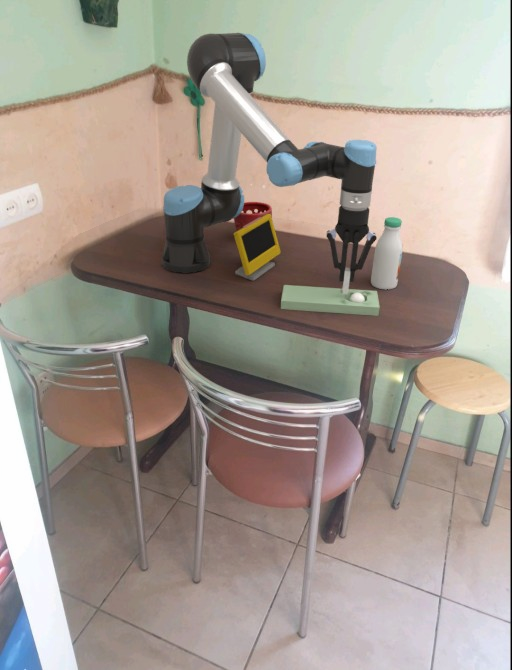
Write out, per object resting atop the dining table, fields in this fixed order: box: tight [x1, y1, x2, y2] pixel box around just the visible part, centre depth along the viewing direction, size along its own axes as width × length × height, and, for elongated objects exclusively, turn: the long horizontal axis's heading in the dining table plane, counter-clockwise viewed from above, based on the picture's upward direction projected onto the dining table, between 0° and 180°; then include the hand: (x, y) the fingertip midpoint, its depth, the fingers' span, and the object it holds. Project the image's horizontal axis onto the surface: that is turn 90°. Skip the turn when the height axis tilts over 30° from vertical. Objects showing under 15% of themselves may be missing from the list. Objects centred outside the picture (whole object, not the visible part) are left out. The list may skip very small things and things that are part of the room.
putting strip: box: [280, 284, 381, 317], centre depth 148 cm, size 26×10×2 cm, turn 83°
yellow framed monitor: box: [233, 214, 281, 282], centre depth 164 cm, size 20×8×16 cm, turn 151°
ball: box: [350, 293, 365, 303], centre depth 147 cm, size 4×4×4 cm
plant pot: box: [233, 201, 273, 232], centre depth 187 cm, size 13×13×12 cm
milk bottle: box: [370, 216, 404, 291], centre depth 155 cm, size 8×8×20 cm
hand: (345, 291), depth 147 cm, fingers closed
